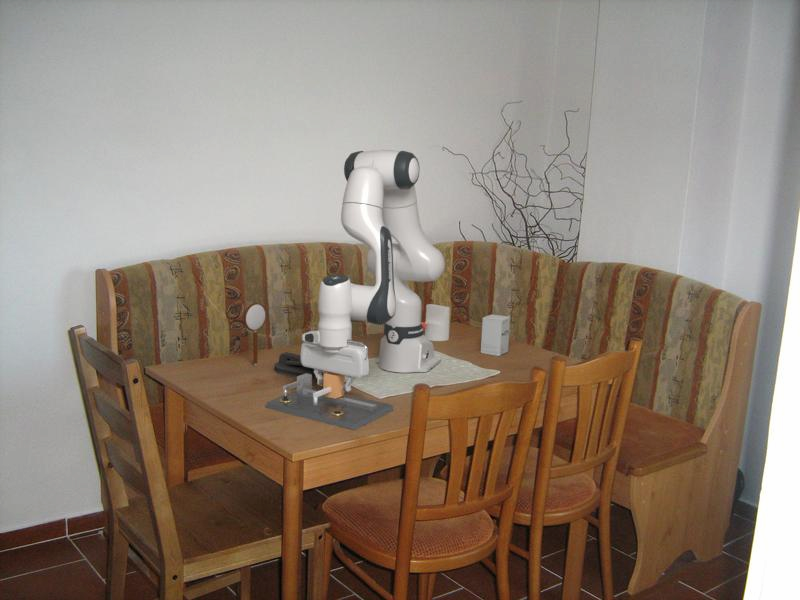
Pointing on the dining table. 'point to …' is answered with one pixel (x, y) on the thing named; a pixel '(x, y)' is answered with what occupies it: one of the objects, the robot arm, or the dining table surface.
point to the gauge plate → (328, 405)
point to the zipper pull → (292, 365)
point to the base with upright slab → (437, 322)
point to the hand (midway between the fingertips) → (334, 387)
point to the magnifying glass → (255, 323)
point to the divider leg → (331, 386)
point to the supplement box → (495, 335)
